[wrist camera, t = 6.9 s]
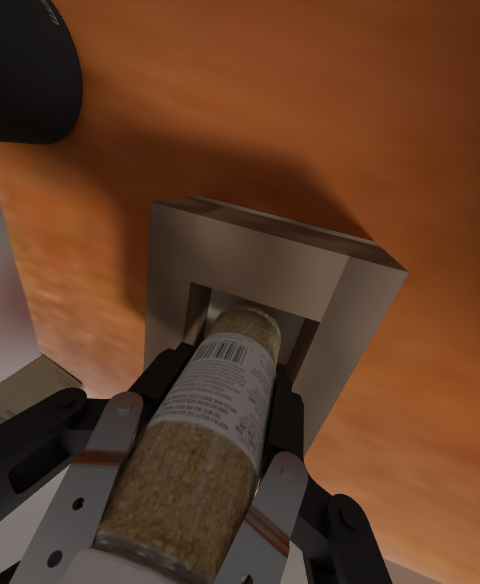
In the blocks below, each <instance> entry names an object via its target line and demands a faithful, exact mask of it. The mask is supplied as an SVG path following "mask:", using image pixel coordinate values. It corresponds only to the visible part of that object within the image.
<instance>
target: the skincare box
mask: <svg viewBox="0 0 480 584" xmlns="http://www.w3.org/2000/svg"><path fill="white" fill-rule="evenodd" d="M72 387H75V388H80V389H82V388H83V385H82V384H81V383H80V382H78V381H77V380H76V379H74V378H73V377H72V376H71V375H69V374H68V373H67V372H65V371H64V370H63V369H61V368H60V367H59V366H57V365H56V364H55V363H54V362H52V361H51V360H50V359H48V358H47V357H45V356H43V355H42V356H40V357H39V358H37V359H36V360H34V361H33V362H31V363H30V364H28V365H27V366H25V367H23V368H22V369H20V370H19V371H17V372H16V373H14V374H13V375H11V376H10V377H8V378H7V379H5V380H3V381H2V382H0V424H1V423H3V422H4V421H6V420H8V419H10V418H12V417H13V416H15V415H17V414H19V413H20V412H22V411H24V410H26V409H27V408H29V407H31V406H33V405H34V404H36V403H38V402H40V401H41V400H43V399H45V398H47V397H48V396H50V395H52V394H54V393H56V392H57V391H59V390H62V389H65V388H72Z"/></svg>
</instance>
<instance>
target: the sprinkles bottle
mask: <svg viewBox="0 0 480 584" xmlns="http://www.w3.org/2000/svg"><path fill="white" fill-rule="evenodd" d="M281 344H282V332H281V329H280V326H279V324H278V323H277V321H276V320H275V319H274V318H273V317H272V316H271V315H270V314H269V313H268V312H266V311H264V310H263V309H261V308H259V307H256V306H253V305H243V304H240V305H235V306H231V307H228V308H227V309H225V310H224V311H223V312H221V313H220V314H219V315H218V317H217V318H216V320H215V322H214V325H213V328H212V330H211V331H210V333H209V334H208V336H207V338H206V339H205V340H204V341H203V342H202V343H201V344H200V345H199V347H198V348H197V350H196V352H195V353H194V355H193V356H192V358H191V359H190V361H189V362H188V364H187V365H186V367H185V368H184V370H183V371H182V373H181V374H180V376H179V377H178V379H177V380H176V382H175V383H174V385H173V386H172V388H171V390H170V391H169V393H168V394H167V396H166V397H165V399H164V400H163V402H162V404H161V405H160V407H159V408H158V409H157V411H156V413H155V414H154V416H153V417H152V419H151V420H150V422H149V424H148V425H147V427H146V429H145V432H144V434H143V436H142V439H141V440H140V442H139V443H138V445H137V447H136V448H135V450H134V452H133V453H132V455H131V457H130V458H129V459H128V461H127V463H126V466H125V468H124V470H123V473H122V475H121V476H120V478H119V480H118V483H117V486H116V488H115V490H114V492H113V494H112V497H111V500H110V503H109V505H108V507H107V510H106V512H105V515H104V517H103V519H102V521H101V522H100V524H99V526H98V529H97V532H96V535H95V540H94V543H93V544H92V546H91V547H87V548H84V549H81V550H79V551H78V553H77V554H76V556H75V557H74V559H73V561H72V562H71V564H70V565H69V567H68V569H67V570H66V572H65V574H64V575H63V577H62V579H61V580H60V582H59V584H213V583H214V581H215V579H216V577H217V574H218V572H219V570H220V568H221V566H222V564H223V562H224V560H225V558H226V556H227V554H228V552H229V549H230V547H231V545H232V543H233V541H234V539H235V537H236V535H237V533H238V531H239V529H240V527H241V524H242V522H243V520H244V518H245V516H246V514H247V512H248V510H249V508H250V506H251V504H252V502H253V499H254V496H255V492H256V490H257V487H258V482H259V476H260V469H261V463H262V456H263V450H264V444H265V438H266V432H267V426H268V420H269V414H270V408H271V402H272V396H273V390H274V384H275V377H276V371H275V369H276V365H277V358H278V353H279V351H280V349H281ZM61 559H62V558H61ZM61 559H59V560H58V561H56V563H55V564H54V566H53V567H55V566H57V565H58V564H59V563H60V561H61Z"/></svg>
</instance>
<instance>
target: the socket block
mask: <svg viewBox="0 0 480 584" xmlns="http://www.w3.org/2000/svg"><path fill="white" fill-rule="evenodd" d="M408 274H409V272H408V271H407V270H406V269H405V268H403V267H402V266H401V265H400V264H399V263H398V262H397V261H396V260H395V259H393V258H392V257H391V256H390V255H389V254H388V253H387V252H386V251H385V250H384V249H382V248H381V247H380V246H379V245H378V244H377V243H376V242H375V241H371V240H367V239H363V238H359V237H356V236H352V235H348V234H344V233H340V232H337V231H333V230H329V229H325V228H321V227H317V226H314V225H310V224H306V223H302V222H298V221H295V220H291V219H287V218H283V217H279V216H275V215H272V214H268V213H264V212H260V211H256V210H253V209H249V208H245V207H241V206H237V205H233V204H230V203H226V202H222V201H218V200H214V199H211V198H207V197H203V196H193V197H185V198H178V199H171V200H163V201H156V202H151V215H150V237H149V260H148V282H147V304H146V327H145V349H144V371H145V370H146V369H147V368H148V367H149V365H150V364H151V363H152V362H153V361H154V359H155V358H156V357H157V356H158V355H159V353H161V352H163V351H164V350H166V349H168V348H170V349H173V350H175V349H176V348H177V347H178V346H179V344H180V343H181V342H184V343H187V344H190V345H193V346H195V347H196V350H197V348H198V347H199V345H200V344H201V343H202V342H203V341H204V340H205V339H206V338H207V336H208V334H209V333H210V331H211V330H212V328H213V325H214V322H215V320H216V318H217V317H218V315H219V314H220V313H221V312H223V311H224V310H225V309H227V308H228V307H231V306H235V305H240V304H243V305H253V306H256V307H259V308H261V309H263V310H264V311H266V312H268V313H269V314H270V315H271V316H272V317H273V318H274V319H275V320H276V321H277V323H278V324H279V326H280V329H281V332H282V344H281V349H280V351H279V353H278V358H277V365H276V369H275V371H276V377H275V381H276V378H277V376H281V377H284V378H287V379H290V380H292V392H294V393H297V394H299V395H300V396H301V398H302V401H303V403H304V455H303V457H304V456H305V454H306V453H307V451H308V449H309V447H310V446H311V444H312V442H313V440H314V439H315V437H316V435H317V433H318V432H319V430H320V428H321V426H322V425H323V423H324V421H325V419H326V418H327V416H328V414H329V412H330V411H331V409H332V407H333V405H334V404H335V402H336V400H337V398H338V397H339V395H340V393H341V391H342V390H343V388H344V386H345V384H346V382H347V381H348V379H349V377H350V375H351V374H352V372H353V370H354V368H355V367H356V365H357V363H358V361H359V360H360V358H361V356H362V354H363V353H364V351H365V349H366V347H367V346H368V344H369V342H370V340H371V339H372V337H373V335H374V333H375V332H376V330H377V328H378V326H379V325H380V323H381V321H382V319H383V318H384V316H385V314H386V312H387V311H388V309H389V307H390V305H391V304H392V302H393V300H394V298H395V297H396V295H397V293H398V291H399V289H400V288H401V286H402V284H403V282H404V281H405V279H406V277H407V275H408ZM196 350H195V352H196ZM144 371H143V372H144Z"/></svg>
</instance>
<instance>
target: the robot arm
mask: <svg viewBox="0 0 480 584" xmlns="http://www.w3.org/2000/svg"><path fill="white" fill-rule="evenodd" d="M195 350H196V347H195V346H193V345H190V344H187V343H184V342H181V343H180V344H179V346H178V347H177V348H176V349H175V350H173V349H170V348H168V349H166V350H164V351H163V352H161V353H159V355H158V356H157V357H156V358H155V359H154V361H153V362H152V363H151V364H150V365H149V367H148V368H147V369H146V370H145V371H144V372H143V373H142V375H141V376H140V377H139V378H138V379H137V380H136V382H135V383H134V384H133V385H132V386H131V387H130V389H129V390H128V391H127V392H122V393H119V394H117V395H115V396H114V397H112V398H111V399H91V398H87V394H86V392H85V391H84V390H82V389H80V388H75V387H72V388H65V389H62V390H59V391H57V392H56V393H54V394H52V395H50V396H48V397H47V398H45V399H43V400H41V401H40V402H38V403H36V404H34V405H33V406H31V407H29V408H27V409H26V410H24V411H22V412H20V413H19V414H17V415H15V416H13V417H12V418H10V419H8V420H6V421H4V422H3V423H1V424H0V521H1V520H2V519H3V518H5V517H6V516H7V515H8V514H10V513H11V512H12V511H13V510H14V509H16V508H17V507H18V506H19V505H21V504H22V503H23V502H24V501H26V500H27V499H28V498H29V497H30V496H31V495H33V494H34V493H35V492H37V491H38V490H39V489H40V488H41V487H43V486H44V485H45V484H46V483H48V482H49V481H50V480H51V479H53V478H54V477H55V476H56V475H57V474H59V473H60V472H61V471H62V470H64V469H65V468H66V467H67V466H68V465H69V464H70V466H69V468H68V470H67V472H66V474H65V476H64V478H63V480H62V482H61V484H60V486H59V488H58V490H57V492H56V494H55V495H54V497H53V499H52V501H51V503H50V505H49V507H48V509H47V511H46V513H45V515H44V517H43V519H42V521H41V523H40V525H39V527H38V529H37V531H36V532H35V534H34V536H33V538H32V540H31V542H30V544H29V546H28V548H27V550H26V552H25V554H24V556H23V558H22V560H20V561H19V562H17V563H15V564H14V565H12V566H11V567H9V568H8V569H6V570H4V571H3V572H1V573H0V584H59V582H60V580H61V579H62V577H63V575H64V574H65V572H66V570H67V569H68V567H69V565H70V564H71V562H72V561H73V559H74V557H75V556H76V554H77V553H78V551H79V550H81V549H84V548H87V547H91V546H92V544H93V543H94V540H95V535H96V532H97V529H98V526H99V524H100V522H101V521H102V519H103V517H104V515H105V512H106V510H107V507H108V505H109V503H110V500H111V497H112V494H113V492H114V490H115V488H116V486H117V483H118V480H119V478H120V476H121V475H122V473H123V470H124V468H125V466H126V463H127V461H128V459H129V458H130V457H131V455H132V453H133V452H134V450H135V448H136V447H137V445H138V443H139V442H140V440H141V439H142V436H143V434H144V432H145V429H146V427H147V425H148V424H149V422H150V420H151V419H152V417H153V416H154V414H155V413H156V411H157V409H158V408H159V407H160V405H161V404H162V402H163V400H164V399H165V397H166V396H167V394H168V393H169V391H170V390H171V388H172V386H173V385H174V383H175V382H176V380H177V379H178V377H179V376H180V374H181V373H182V371H183V370H184V368H185V367H186V365H187V364H188V362H189V361H190V359H191V358H192V356H193V355H194V353H195ZM303 455H304V403H303V401H302V398H301V396H300V395H299V394H297V393H294V392H292V380H290V379H287V378H284V377H281V376H277V378H276V381H275V384H274V390H273V396H272V402H271V408H270V414H269V420H268V426H267V432H266V438H265V444H264V450H263V456H262V463H261V469H260V476H259V479H260V480H259V487H258V491H257V493H256V495H255V497H254V499H253V502H252V504H251V506H250V508H249V510H248V512H247V514H246V516H245V518H244V520H243V522H242V524H241V527H240V529H239V531H238V533H237V535H236V537H235V539H234V541H233V543H232V545H231V547H230V549H229V552H228V554H227V556H226V558H225V560H224V562H223V564H222V566H221V568H220V570H219V572H218V574H217V577H216V579H215V581H214V583H213V584H280V581H281V578H282V575H283V571H284V568H285V565H286V561H287V558H288V554H289V541H290V540H291V541H292V542H293V543H294V544H295V545H296V546H297V547H298V548H299V549H300V550H302V553H303V559H304V564H305V569H306V575H307V580H308V584H392V581H391V578H390V576H389V573H388V570H387V568H386V566H385V563H384V560H383V558H382V555H381V552H380V550H379V547H378V545H377V542H376V539H375V537H374V534H373V532H372V529H371V527H370V524H369V521H368V519H367V517H366V515H365V513H364V511H363V510H362V508H361V507H360V506H359V504H358V503H357V502H356V501H355V500H353V499H352V498H351V497H349V496H347V495H344V494H336V495H334V496H332V495H331V494H329V493H328V492H327V491H325V490H324V489H323V488H322V487H320V486H319V485H318V484H317V483H316V482H315V481H314V480H313V479H312V478H311V476H310V475H309V473H308V472H307V469H306V467H305V464H304V457H303ZM61 558H62V559H61ZM59 559H61V561H60V563H59V564H58V565H57V566H55V567H53V566H54V564H55V563H56V561H58V560H59Z"/></svg>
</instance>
